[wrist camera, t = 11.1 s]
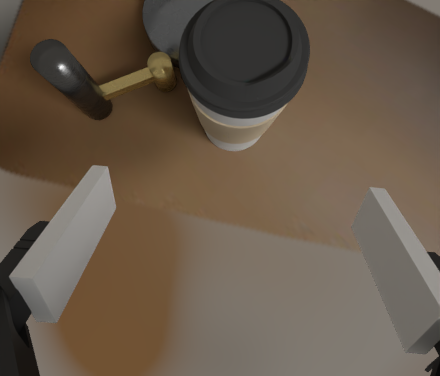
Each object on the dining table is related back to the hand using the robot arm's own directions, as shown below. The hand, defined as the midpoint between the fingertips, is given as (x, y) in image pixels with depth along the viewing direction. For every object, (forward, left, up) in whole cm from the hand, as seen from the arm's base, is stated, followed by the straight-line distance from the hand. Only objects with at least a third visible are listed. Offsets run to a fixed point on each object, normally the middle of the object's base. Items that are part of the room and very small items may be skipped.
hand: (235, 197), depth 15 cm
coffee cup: (+4, -10, -17) cm, 20 cm away
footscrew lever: (+15, -8, -16) cm, 24 cm away
